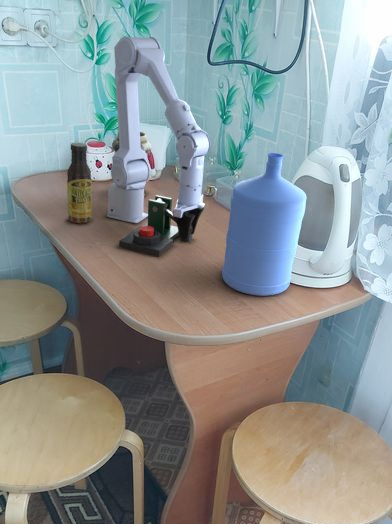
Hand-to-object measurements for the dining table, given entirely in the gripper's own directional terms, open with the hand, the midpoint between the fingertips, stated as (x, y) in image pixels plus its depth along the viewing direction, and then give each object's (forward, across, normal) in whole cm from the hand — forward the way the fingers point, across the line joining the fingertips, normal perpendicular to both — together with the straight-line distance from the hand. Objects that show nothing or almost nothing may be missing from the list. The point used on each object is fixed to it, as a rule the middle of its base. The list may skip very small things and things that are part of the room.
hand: (186, 236), depth 134 cm
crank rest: (+1, 0, 0) cm, 1 cm away
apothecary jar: (+1, +26, +30) cm, 39 cm away
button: (-2, -10, +7) cm, 12 cm away
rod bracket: (+1, 0, +8) cm, 8 cm away
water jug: (+1, -14, -23) cm, 27 cm away
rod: (-3, 0, +5) cm, 6 cm away
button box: (+1, -10, +7) cm, 12 cm away
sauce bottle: (+1, -4, +30) cm, 30 cm away
